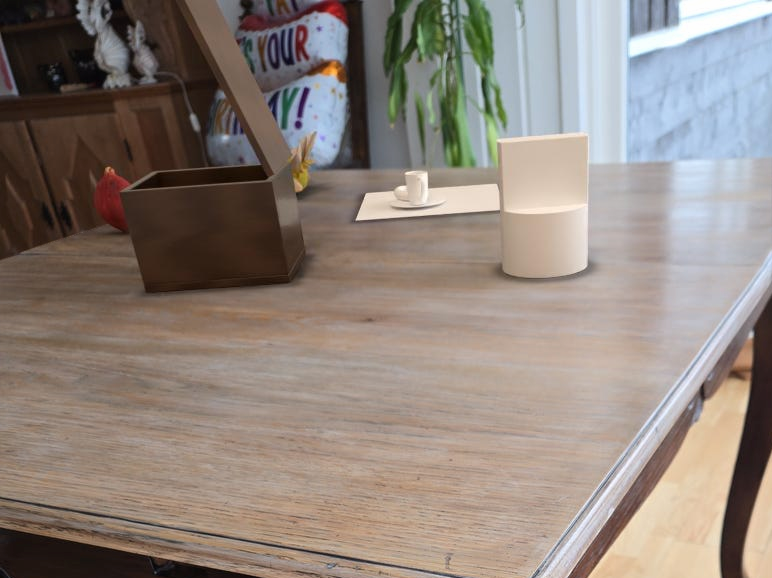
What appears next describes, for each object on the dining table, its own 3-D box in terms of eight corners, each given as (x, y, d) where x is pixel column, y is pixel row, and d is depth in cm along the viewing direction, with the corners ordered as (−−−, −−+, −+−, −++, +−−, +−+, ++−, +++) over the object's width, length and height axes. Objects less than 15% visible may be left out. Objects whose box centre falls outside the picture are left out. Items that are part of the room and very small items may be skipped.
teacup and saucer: (391, 200, 129) (388, 169, 127) (446, 196, 129) (443, 165, 127) (388, 212, 122) (384, 179, 120) (446, 208, 122) (443, 175, 120)
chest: (145, 292, 95) (118, 192, 90) (175, 263, 106) (152, 171, 100) (290, 282, 95) (272, 181, 89) (306, 254, 105) (290, 161, 100)
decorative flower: (254, 173, 146) (255, 104, 139) (323, 187, 146) (327, 119, 140) (230, 199, 134) (229, 125, 128) (304, 214, 135) (307, 141, 129)
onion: (146, 234, 121) (128, 168, 116) (101, 239, 120) (82, 173, 115) (148, 225, 125) (131, 162, 121) (105, 230, 124) (87, 166, 120)
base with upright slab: (506, 281, 90) (501, 147, 83) (498, 259, 98) (492, 135, 91) (594, 273, 91) (596, 139, 84) (579, 253, 98) (580, 128, 91)
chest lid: (171, -8, 80) (178, -13, 80) (203, -8, 90) (209, -12, 90) (267, 177, 89) (274, 174, 89) (286, 158, 99) (293, 155, 99)
